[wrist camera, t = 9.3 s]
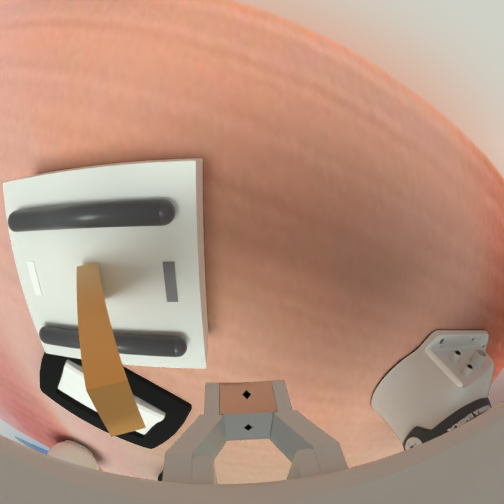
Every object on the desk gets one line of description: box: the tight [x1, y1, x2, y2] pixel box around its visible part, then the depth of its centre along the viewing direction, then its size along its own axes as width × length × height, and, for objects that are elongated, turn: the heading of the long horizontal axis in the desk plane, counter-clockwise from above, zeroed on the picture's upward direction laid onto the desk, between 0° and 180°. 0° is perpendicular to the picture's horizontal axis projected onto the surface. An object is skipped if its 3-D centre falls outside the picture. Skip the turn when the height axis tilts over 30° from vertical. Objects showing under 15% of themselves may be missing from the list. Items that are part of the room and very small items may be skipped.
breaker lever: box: [76, 263, 146, 437], centre depth 13 cm, size 2×3×12 cm, turn 179°
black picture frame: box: [40, 352, 191, 449], centre depth 29 cm, size 20×3×14 cm
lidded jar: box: [47, 440, 99, 470], centre depth 30 cm, size 11×11×9 cm
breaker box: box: [3, 158, 209, 368], centre depth 20 cm, size 16×16×7 cm
